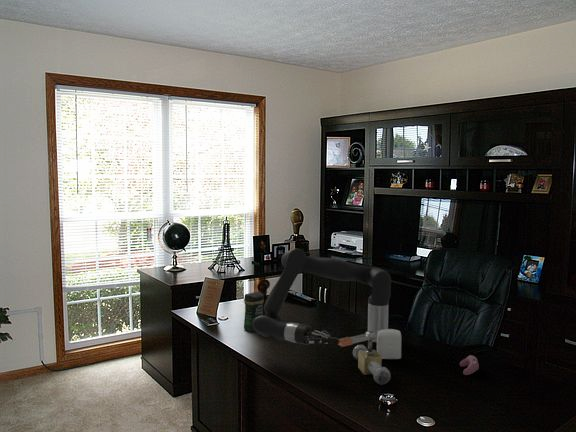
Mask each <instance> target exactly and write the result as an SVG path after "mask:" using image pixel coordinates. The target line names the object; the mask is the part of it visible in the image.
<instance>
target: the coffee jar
mask: <svg viewBox="0 0 576 432" xmlns="http://www.w3.org/2000/svg"><path fill="white" fill-rule="evenodd" d="M243 298H244V299H243V301H244V306H245V307H244V320H243V322H244V323H243V329H244V330H245V331H246V332H252V333H254V332H256V331H255V330H254V329H253V326H252V322H253V320H254V319H255V318H256V317H258V316H263V301H264V297H263V293H261V292H258V290H257V291H253V292H250V293H245V294H244V297H243Z"/></svg>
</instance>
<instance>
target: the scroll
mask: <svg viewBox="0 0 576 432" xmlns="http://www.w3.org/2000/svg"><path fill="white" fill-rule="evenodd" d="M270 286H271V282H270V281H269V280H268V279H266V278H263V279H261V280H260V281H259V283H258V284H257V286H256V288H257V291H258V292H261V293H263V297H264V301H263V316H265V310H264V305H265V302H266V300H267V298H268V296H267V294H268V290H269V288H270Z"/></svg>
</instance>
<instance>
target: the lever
mask: <svg viewBox="0 0 576 432" xmlns="http://www.w3.org/2000/svg"><path fill="white" fill-rule="evenodd" d="M374 339H375V332H373V331H368V330H367V331H365V333H362V334H357V335H353V336H346V337H342V338H341V337H340V338H338V344H337V345H338V346H340V347H341V348H343V347H348V346H351V345H352V346H353V345H354V344H358V343H361V342H362V343H363V342H366V341H368V340H374Z"/></svg>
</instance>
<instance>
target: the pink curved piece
mask: <svg viewBox="0 0 576 432" xmlns="http://www.w3.org/2000/svg"><path fill="white" fill-rule="evenodd" d="M478 361H479V360H478V358H477V357H476V356H474V355H471V354H470V355H468V356H466V357H465V358H463V359H462V360H461V361H460V362H459V366H460V367H462V368H463V367H466V368H464V370H463V372H462V374H463V375H465V376H469V375H471V374H474V373H475V372H477V371H478V370H479V369H480V367H479V362H478Z"/></svg>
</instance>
